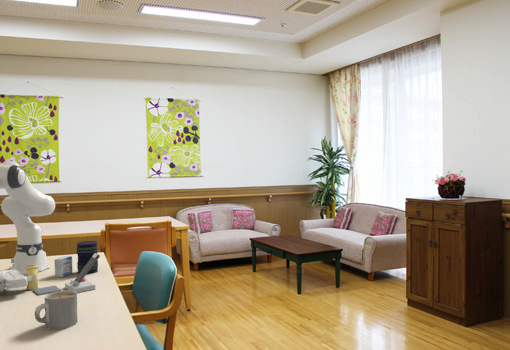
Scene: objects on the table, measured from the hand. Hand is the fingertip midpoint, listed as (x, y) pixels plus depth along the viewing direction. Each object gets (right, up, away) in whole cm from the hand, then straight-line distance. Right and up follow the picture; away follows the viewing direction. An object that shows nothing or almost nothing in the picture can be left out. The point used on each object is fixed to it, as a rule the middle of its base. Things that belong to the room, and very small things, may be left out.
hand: (34, 275), depth 192 cm
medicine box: (+3, -5, +23) cm, 24 cm away
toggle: (+20, -2, -3) cm, 20 cm away
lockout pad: (+8, -6, -4) cm, 10 cm away
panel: (+21, -5, -1) cm, 21 cm away
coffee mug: (+30, -7, -45) cm, 55 cm away
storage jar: (+13, -5, +29) cm, 32 cm away
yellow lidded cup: (-1, -6, 0) cm, 6 cm away
